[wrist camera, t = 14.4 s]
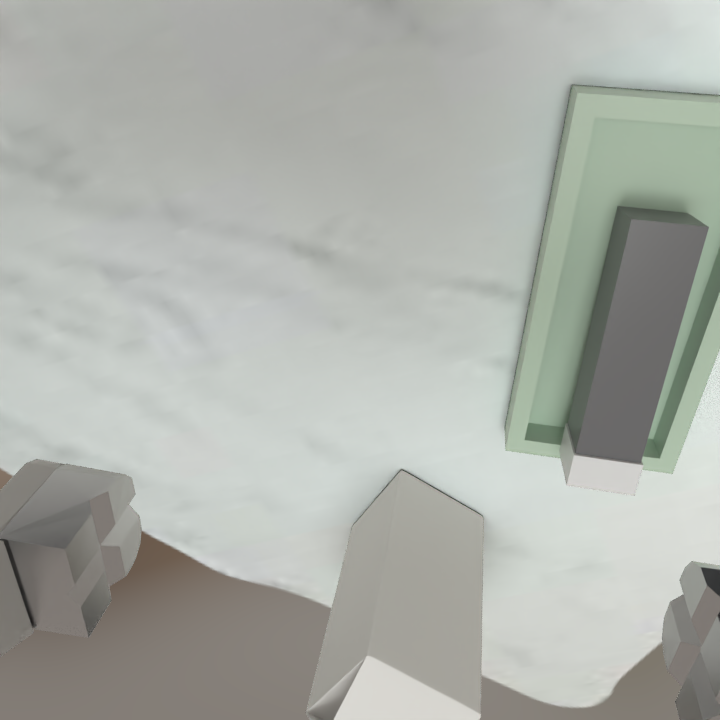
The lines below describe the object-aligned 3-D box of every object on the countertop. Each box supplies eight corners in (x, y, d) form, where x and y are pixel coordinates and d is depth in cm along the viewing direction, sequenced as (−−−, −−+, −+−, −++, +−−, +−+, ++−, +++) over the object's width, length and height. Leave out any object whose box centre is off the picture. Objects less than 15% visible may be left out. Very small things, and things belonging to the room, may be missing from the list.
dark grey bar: (615, 205, 34) (630, 219, 31) (689, 213, 34) (712, 228, 31) (559, 451, 41) (566, 485, 37) (621, 460, 40) (634, 495, 37)
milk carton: (401, 467, 47) (353, 731, 31) (484, 515, 48) (480, 796, 32) (351, 524, 50) (286, 787, 34) (430, 568, 51) (401, 843, 35)
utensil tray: (504, 426, 43) (505, 450, 41) (572, 84, 32) (577, 92, 30) (663, 448, 42) (672, 473, 40) (788, 100, 31) (809, 109, 29)
